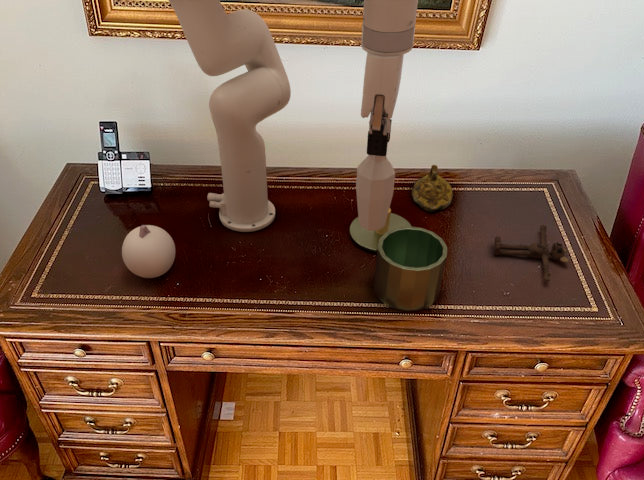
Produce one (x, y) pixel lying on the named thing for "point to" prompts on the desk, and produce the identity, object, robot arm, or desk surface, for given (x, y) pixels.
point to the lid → (375, 231)
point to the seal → (432, 191)
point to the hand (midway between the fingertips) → (378, 146)
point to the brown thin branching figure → (534, 251)
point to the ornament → (148, 251)
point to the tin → (409, 268)
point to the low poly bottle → (374, 189)
